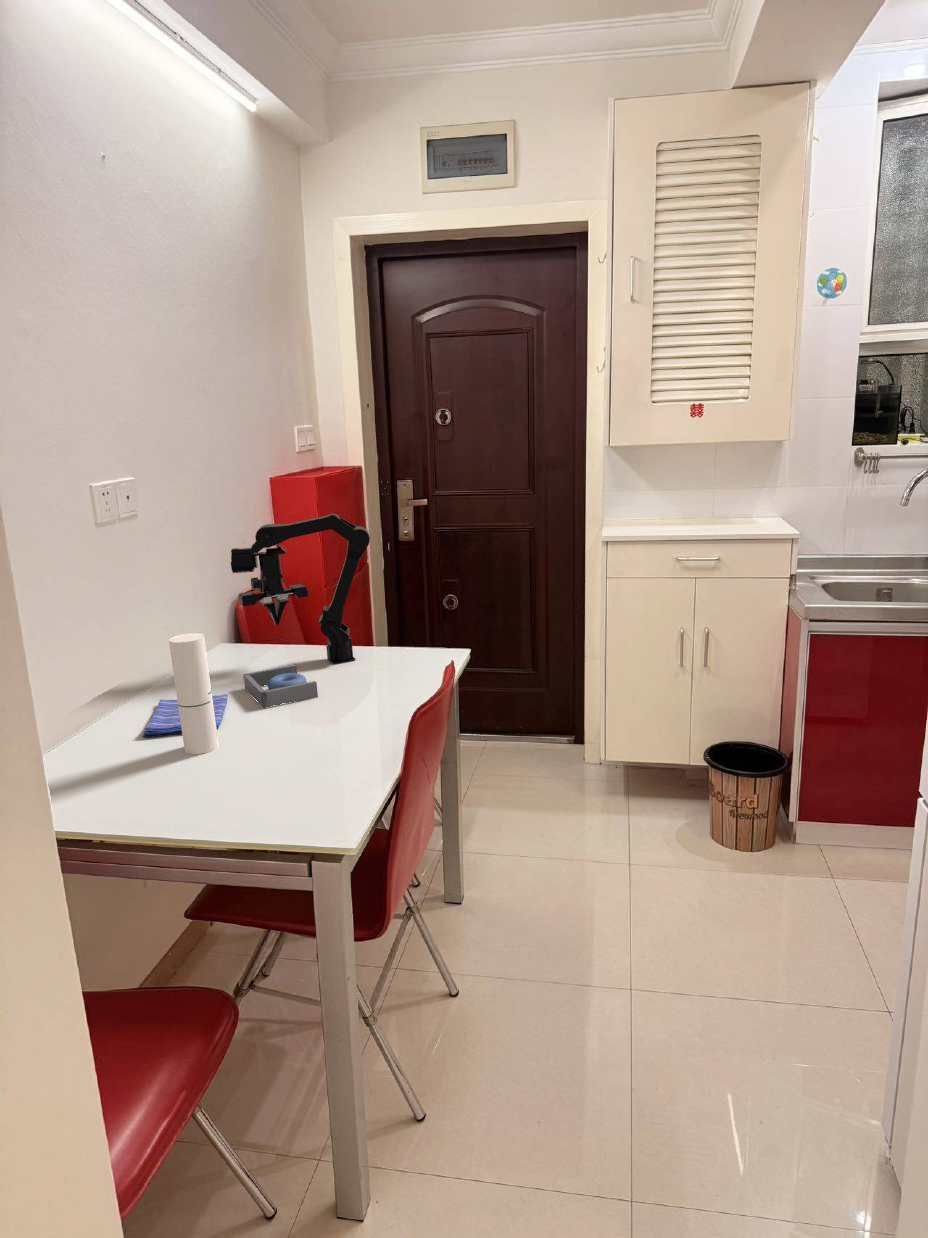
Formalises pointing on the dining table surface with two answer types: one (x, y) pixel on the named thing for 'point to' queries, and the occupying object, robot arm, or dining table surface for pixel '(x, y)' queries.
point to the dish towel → (178, 717)
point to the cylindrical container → (194, 693)
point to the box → (280, 694)
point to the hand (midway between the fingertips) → (276, 624)
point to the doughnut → (286, 680)
